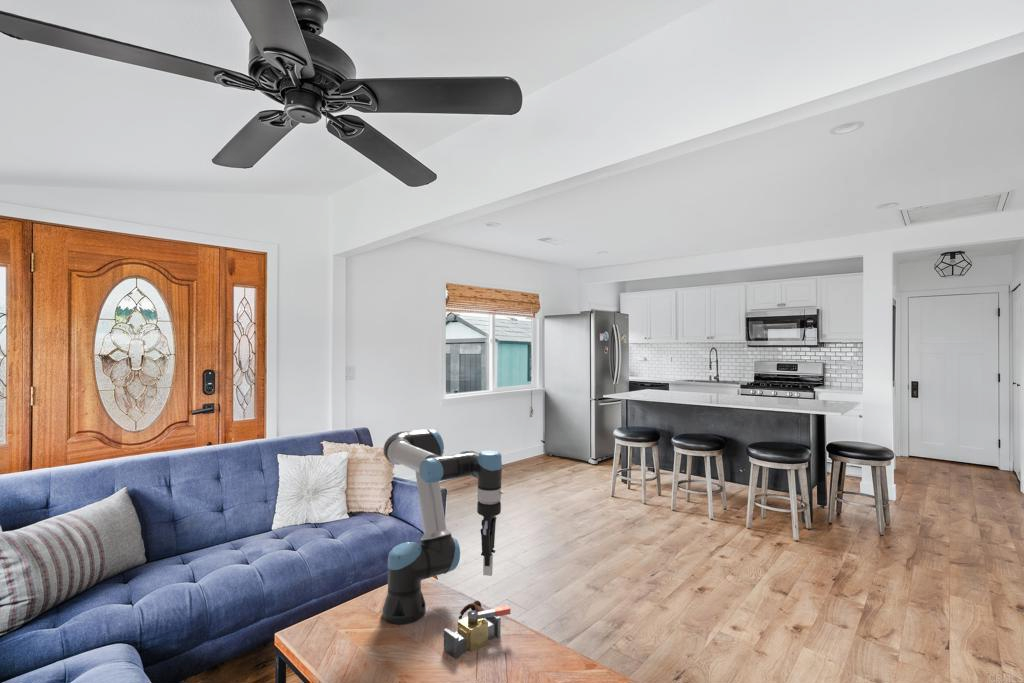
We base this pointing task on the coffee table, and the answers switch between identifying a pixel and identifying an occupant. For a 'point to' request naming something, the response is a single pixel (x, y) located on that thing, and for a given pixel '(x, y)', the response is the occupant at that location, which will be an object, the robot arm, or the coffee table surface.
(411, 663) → the coffee table surface
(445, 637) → the valve body
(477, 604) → the pottery mug
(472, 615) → the lever
